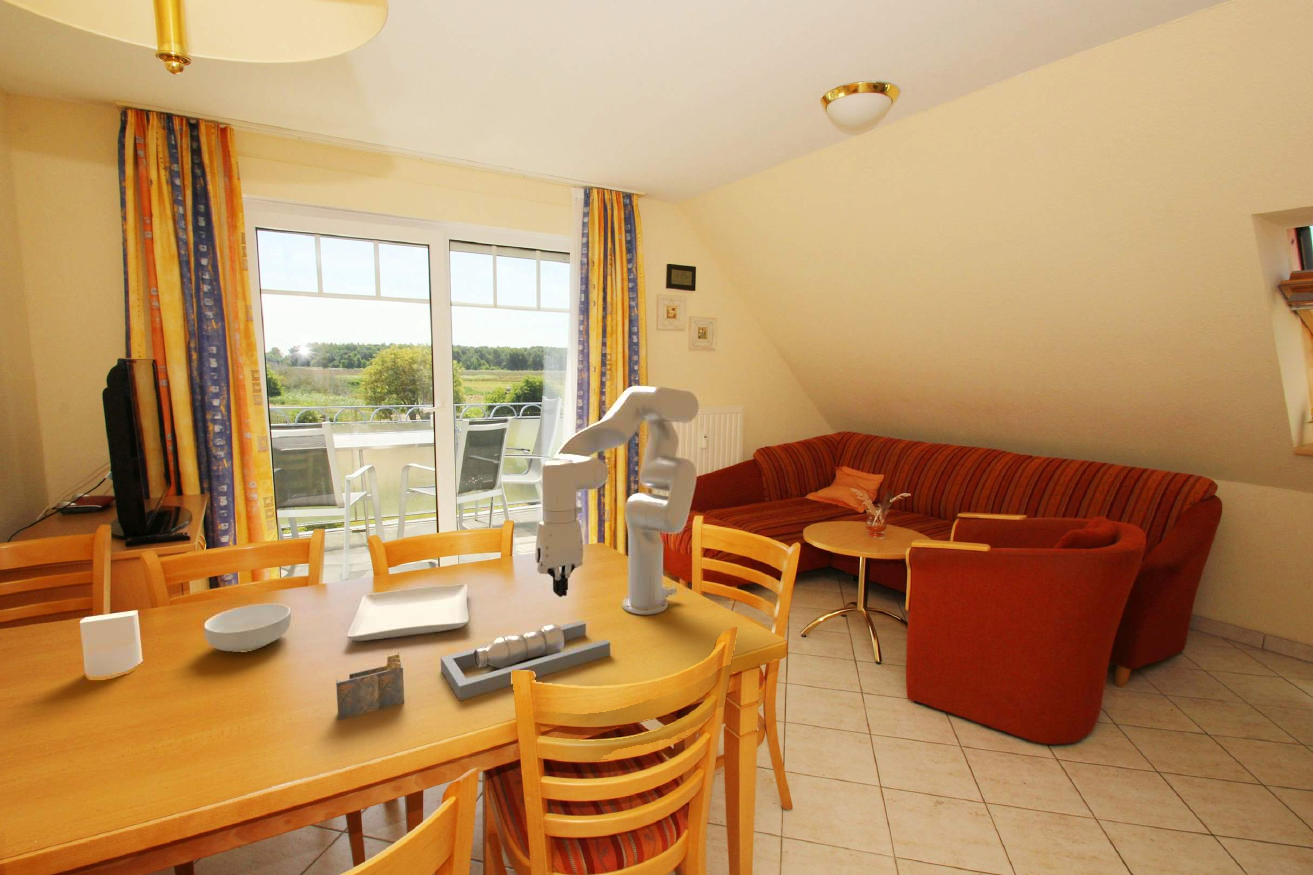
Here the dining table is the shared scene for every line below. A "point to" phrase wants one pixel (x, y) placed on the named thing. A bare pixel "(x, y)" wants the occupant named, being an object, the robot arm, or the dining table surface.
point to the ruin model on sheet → (371, 689)
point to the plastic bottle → (520, 647)
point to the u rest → (540, 666)
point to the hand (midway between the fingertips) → (560, 594)
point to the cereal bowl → (247, 627)
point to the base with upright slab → (111, 643)
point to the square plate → (410, 612)
